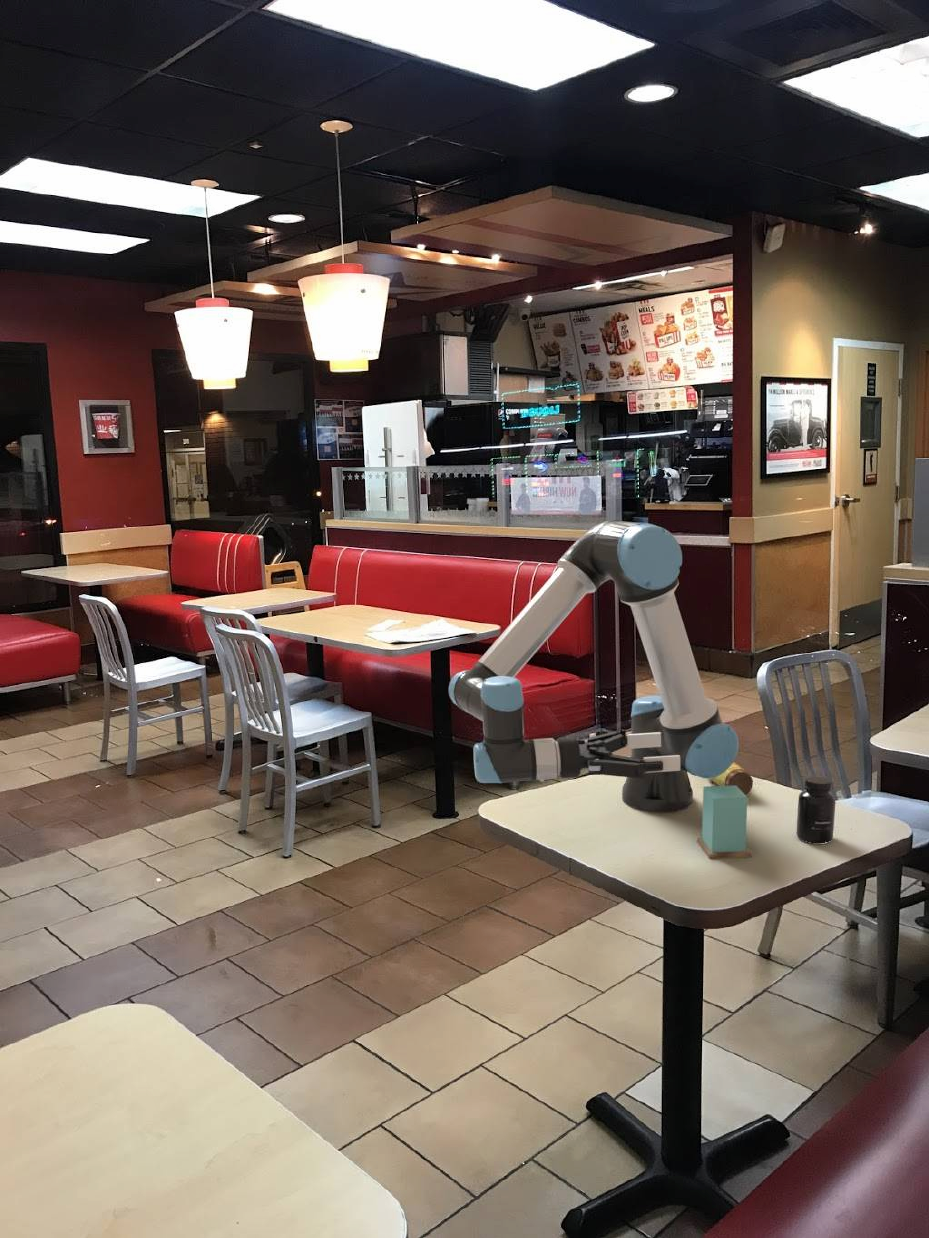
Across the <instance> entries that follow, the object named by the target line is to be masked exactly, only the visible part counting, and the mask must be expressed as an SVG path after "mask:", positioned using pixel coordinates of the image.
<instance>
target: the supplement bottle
mask: <svg viewBox="0 0 929 1238" xmlns="http://www.w3.org/2000/svg"><path fill="white" fill-rule="evenodd" d="M797 804H798V805H797V818H796V836H797V838H798V839H799V840H800V841H802V840H804V841H803V842H805V841H807V842H806V843H808V842H811V843H810V844H812V843H825V842H829V841H831V840H832V841H833V838H834V831H835V830H834V828H835V818H836V817H835V814H836V797H835V795H833V793H832V780H831V779H829V778H828V777H824V776H817V775H815V776H814V775H812V776H811V775H810V776H807V777H806V778H805V782H804V789H803V790H802V791H800V792H799V794H798V800H797ZM832 841H831V842H832ZM829 843H830V842H829Z"/></svg>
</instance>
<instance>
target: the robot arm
mask: <svg viewBox="0 0 929 1238" xmlns="http://www.w3.org/2000/svg"><path fill="white" fill-rule="evenodd" d="M681 549H682V548H681V546H680V543H679V541H678V540H677V538H676V537H675V536H674V535H673V534H672V533H671V532H670V531H669V530H667V529H666V528H664V527H661V526H657V525H655V524H653V523H648V522H639V523H638V522H633V521H624V520H618V519H611V520H610V519H609V520H606V521H601V522H600V523H598V524H596V525H593V526H592V527H590V528H589V529H588V530H587V531H586V532H584V533H583V534H582V535H581V536H579V538H577V540H575V542H574V543H573V544H571V546H569V548H568V549H567V550H566V551H565V552H564V553H563V554H562V556H561V557H560V558H559V559H558V561H557V570H555V571H554V573H553V574H552V575H551V576H550V577H549V579H548V580H547V581H546V582H545V583H544V584H543V586H541V588H540V589H539V590H538V591H537V593H536V594H535V595H534V596H533V597H532V598H531V599H530V601H529V602H528V603H527V604H526V605H525V607H524V608H523V609H522V610H521V611H520V612H519V613H518V614H517V616H516V617H515V618H514V619H513V620H512V621H511V623H510V624H509V625H508V626H507V627H506V628H505V630H504V631H503V632H502V633H501V634H500V635H499V637H498V638H497V639H496V640H495V641H494V642H493V643H492V645H491V646H489V648H488V649H487V651H485V653H484V654H483V655H482V656H481V657H480V659H478V660H477V662H476V663H475V664H474V666H473V667H471V669H469V670H462V671H459V672H457V673H456V674H455V675H454V676H453V677H451V680H450V681H449V685H448V696H449V698H450V700H451V701H452V704H455V705H456V706H457V707H458V708H459V709H460V710H461V711H464V712H466V713H468V714H469V715H471V716H473V717H474V718H476V719H478V720H479V721H481V722H482V728H483V731H482V732H483V740H482V741H481V742H477V743H475V744H474V745H473V751H472V752H473V765H474V766H473V769H474V776H475V779H476V781H477V782H479V783H482V784H503V783H515V782H525V781H526V782H527V781H540V782H542V783H544V782H545V780H553V779H557V777H559V778H561V779H575V778H578V777H580V775H581V770H582V769H588V775H590V776H599V775H600V776H602V775H604V776H611V777H622V778H625V782H624V784H623V786H622V790H621V791H622V794H621V795H622V797H621V799H622V801H623V802H624V803H625V804H626V805H627V806H630V807H633V808H635V809H639V810H642V811H647V812H656V813H663V812H666V813H667V812H678V811H681V810H685V809H688V808H690V806H691V805H692V804H693V802H694V791H693V788H692V784H691V782H690V781H691V780H690V778H689V774H690V775H691V776H695V777H698V778H699V777H700V778H702V779H708V780H709V779H710V778H715V777H717V776H719V775H721V774H723V773H724V772H725V771H726V770H727V769H728V768H729V767H730V766H731V765H732V763H733V762H734V761H735V758H736V757H737V754H738V751H739V737H738V734H737V732H736V731H735V730H734V729H733V727H732V726H731V725H729V724H727V723H724V722H723V720H722V718H721V717H722V716H721V714H720V711H719V707H718V705H717V703H716V702H715V701H714V700H713V699H710V698H709V697H707V695H706V692H705V689H704V686H703V683H702V680H701V677H700V673H699V670H698V666H697V664H696V660H695V656H694V654H693V651H692V647H691V644H690V641H689V638H688V634H687V631H686V627H685V624H684V621H683V619H682V615H681V612H680V609H679V605H678V603H677V598H676V595H675V591H676V589H677V587H678V586H679V584H680V582H679V578H678V576H679V574H680V571H681V569H680V567H681V566H682V564H683V553H682V550H681ZM610 580H612V581H613V582H614V585H615V588H616V591H617V594H618V597H619V600H620V602H621V603H623V604H626V605H628V606H630V609H631V612H632V615H633V618H634V620H635V624H636V627H637V631H638V633H639V637H640V639H641V642H642V646H643V647H644V648H643V649H644V651H645V655H646V658H647V661H648V663H649V667H650V670H651V672H652V676H653V678H654V679H653V680H654V682H655V685H656V688H657V691H658V694H656V695H655V694H654V695H647V696H646V695H645V696H641V697H639V698H637V699H635V700H634V701H633V702H632V706H631V713H630V718H631V724H630V725H631V726H630V727H631V730H630V733H629V734H628V733H627V731H626V729H620V730H615V731H614V730H613V731H610V732H606V733H604V734H603V733H602V734H600V735H599V734H598V735H594V736H590V737H584V738H577V737H575V736H564V737H557V738H556V740H555V739H554V737H548V738H545V737H544V738H535V739H532V738H531V739H525V730H524V729H525V726H524V724H525V723H524V720H525V719H524V716H525V715H524V702H525V701H524V700H525V699H524V694H523V687H522V682H521V681H520V680H519V679H518V678H517V677H516V676H517V675H518V674H519V672H520V671H521V670H522V669H523V668H524V667H525V666H526V665H527V663H528V662H529V661H530V660H531V658H533V656H534V655H535V654H536V653H537V652H538V651H539V649H541V647H542V646H543V645H544V643H545V642H547V640H548V639H549V638H550V637H551V636H552V634H554V632H555V631H556V629H557V628H558V627H560V625H561V624H562V622H564V620H565V619H566V618H567V617H568V616H569V615H570V613H571V612H572V611H573V610H574V608H576V607H577V605H579V603H580V602H581V601H582V599H583V598H584V597H585V596H586V595H587V594H592V593H595V592H596V591H597V590H598V588H599V587H600V586H601V585H603V584H604V583H605V582H607V581H610ZM624 748H627V750H628V749H629V750H630V757H629V756H623V755H617V754H613V753H614V752H616V751H619V750H621V749H624ZM688 773H689V774H688Z"/></svg>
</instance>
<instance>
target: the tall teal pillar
mask: <svg viewBox="0 0 929 1238" xmlns="http://www.w3.org/2000/svg"><path fill="white" fill-rule="evenodd" d="M702 791H703V792H702V793H703V794H702V795H703V796H702V824H701V826H702V827H701V837H702V840H703V841H704V843H705V844H706V845H707V847H708V848H709V849H710V851H711V852H739V851H745V846H746V844H747V841H746V840H747V817H748V815H747V813H748V796H747V795H745V794H744V793H743V792H742V791H741V790H740V789H739V788H738V787H737V786H719V785H711V786H709V785H708V786H705V785H704V786H703V788H702ZM746 847H747V846H746Z"/></svg>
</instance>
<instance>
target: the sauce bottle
mask: <svg viewBox="0 0 929 1238" xmlns="http://www.w3.org/2000/svg"><path fill="white" fill-rule="evenodd" d="M709 779H710V780H711V781H712V782H714V783H715V784H716V786H737V787H738V788H739V789H740V790H741V791H742V792H743V793H744V794H745V795H746V796H747V795H748V794H749V793H750V792H751V791H752V788H753V786H754V784H753V783H754V779H753V778H752V776H751V775H750V773H749V772H748V771H747V770H746V769H744V768H743V767H741V766H740V765H738V764H737V763H736V762H734V761H733V763H732V765H731V766H730V767H729V768H728V769H727V770H726V771H725V772H724V773H723V774H721V775H719V776H717V777H715V778H709Z"/></svg>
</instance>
